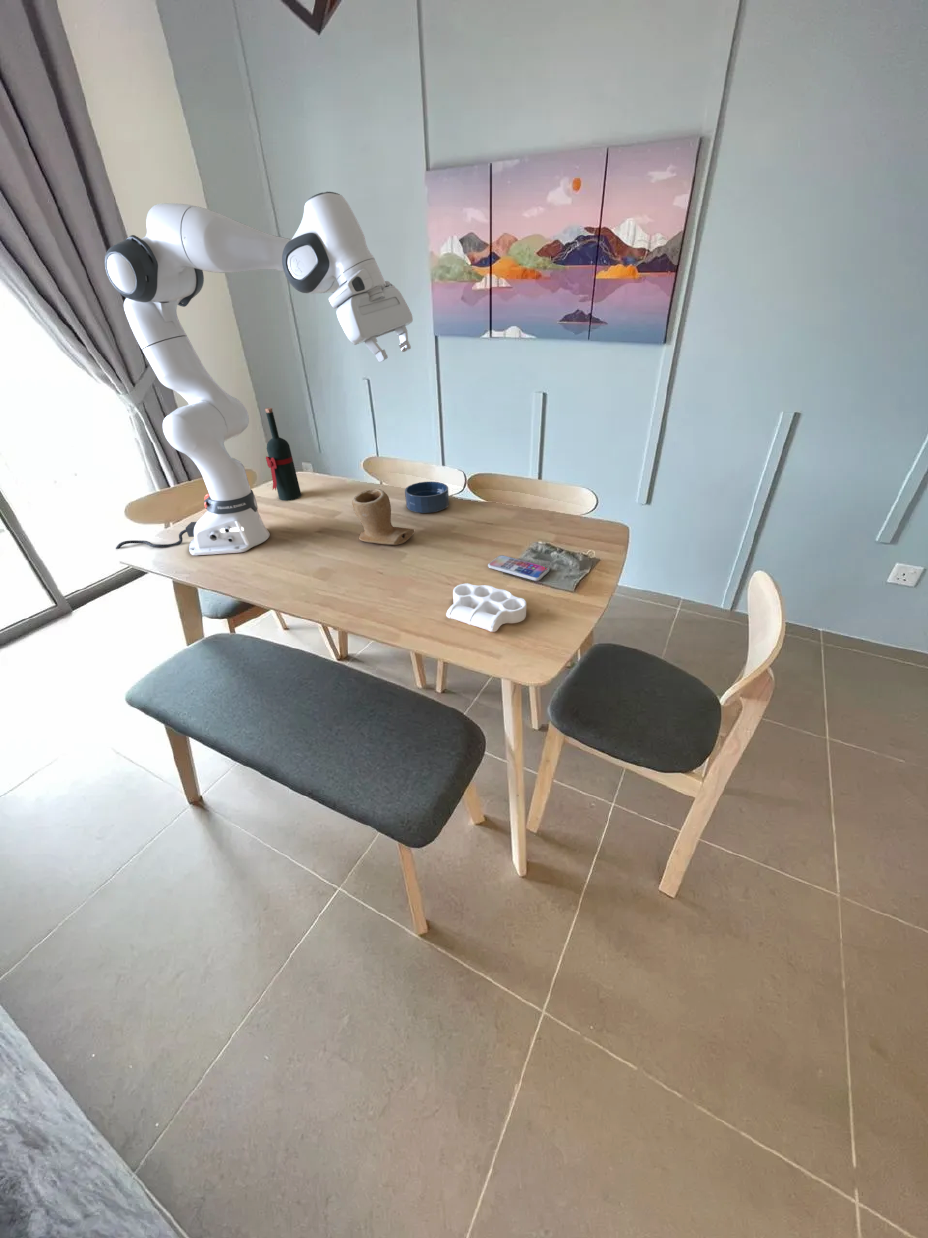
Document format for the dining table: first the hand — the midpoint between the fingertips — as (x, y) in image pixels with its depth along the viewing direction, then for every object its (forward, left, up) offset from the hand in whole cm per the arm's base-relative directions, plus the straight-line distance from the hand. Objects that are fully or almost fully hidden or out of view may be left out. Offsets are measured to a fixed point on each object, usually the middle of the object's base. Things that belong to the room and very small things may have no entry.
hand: (395, 355), depth 107 cm
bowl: (+11, +35, -49) cm, 62 cm away
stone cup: (-7, +13, -50) cm, 52 cm away
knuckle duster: (+10, -32, -50) cm, 60 cm away
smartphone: (+24, -16, -49) cm, 57 cm away
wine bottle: (-35, +61, -50) cm, 86 cm away
